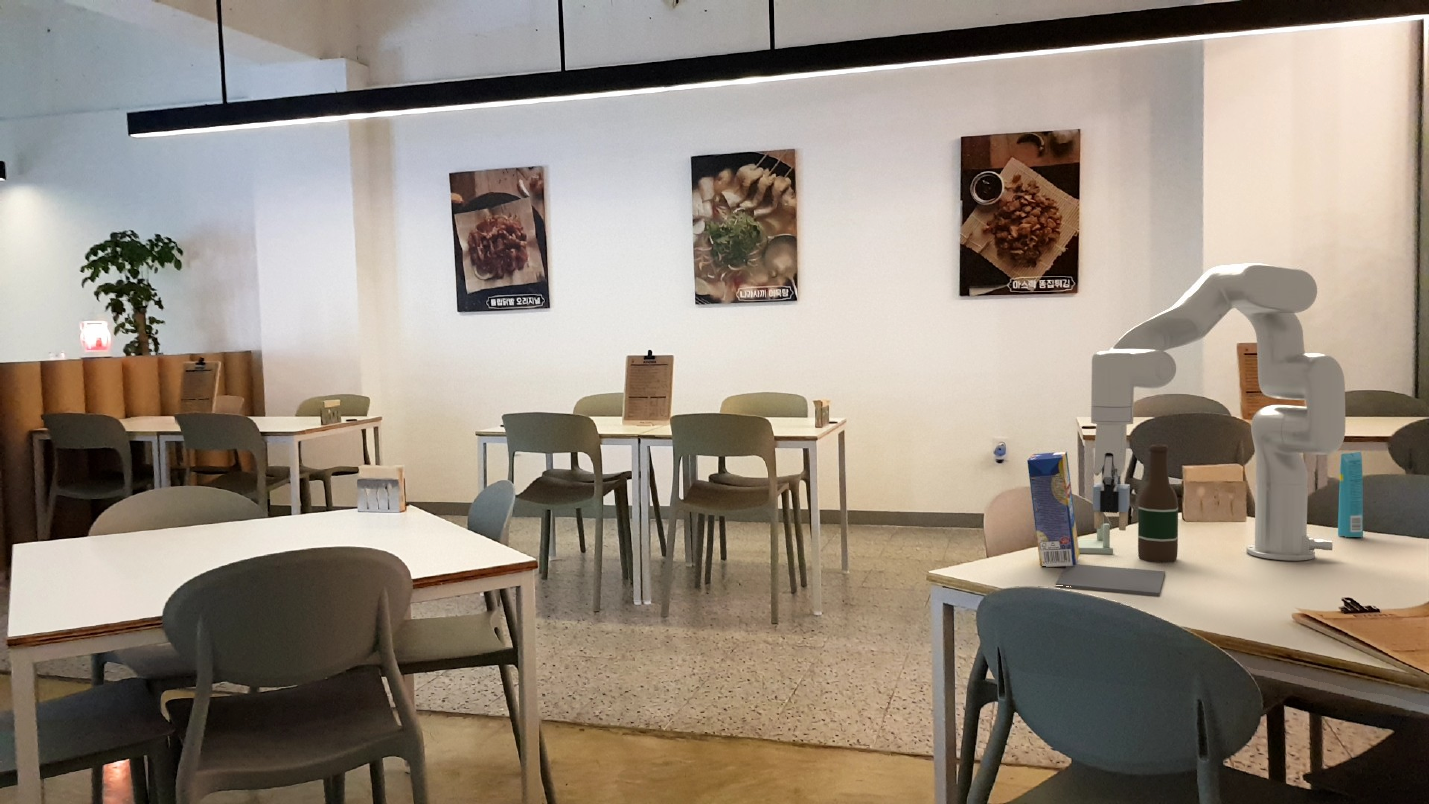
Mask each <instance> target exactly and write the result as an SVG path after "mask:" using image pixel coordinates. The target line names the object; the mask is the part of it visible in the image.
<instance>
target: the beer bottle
mask: <svg viewBox="0 0 1429 804" xmlns="http://www.w3.org/2000/svg"><path fill="white" fill-rule="evenodd" d="M1148 451H1150V454H1149V456H1150V457H1149V471H1148V479H1147V484H1145V486H1144V488H1143V489H1142V490H1141V493H1140V494H1139V497H1138V507H1137V508H1138V510H1137V511H1138V512H1137V513H1138V514H1137V516H1138V518H1137V519H1138V521H1137V525H1138V526H1137V530H1138V531H1137V555H1138V558H1139V559H1141V560H1144V561H1146V562H1152V563H1160V562H1161V563H1162V564H1163V562H1164V563H1174V562H1175V561H1176V560H1177V558H1178V552H1179V551H1178V550H1179V549H1178V548H1179V546H1178V545H1179V541H1178V540H1179V528H1178V527H1179V500H1178V496H1177V493H1176V491H1175V489H1174V488H1173V486H1172V485H1171V484H1170V478H1169V467H1168V466H1169V465H1168V464H1169V463H1168V451H1170V450H1169V446H1168V445H1167V444H1162V443H1161V444H1160V443H1159V444H1157V443H1156V444H1151V445H1150V446H1149V449H1148Z"/></svg>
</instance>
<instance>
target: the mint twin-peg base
mask: <svg viewBox="0 0 1429 804" xmlns="http://www.w3.org/2000/svg"><path fill="white" fill-rule="evenodd" d="M1104 519H1105V517H1103V525H1101V529H1096V538H1078V537H1077V539H1078V547H1079V554H1097V555H1098V554H1101V555H1102V554H1104V555H1105V554H1106V555H1108V554H1109V555H1114V548H1113V546H1111V543H1110V542H1111V536H1110V535H1111V534H1110V533H1111V532H1110V531H1111V524H1110V523H1104V521H1105V520H1104Z"/></svg>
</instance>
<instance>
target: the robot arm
mask: <svg viewBox="0 0 1429 804" xmlns="http://www.w3.org/2000/svg"><path fill="white" fill-rule="evenodd" d="M1317 295H1318V285H1317V283H1316V280H1315V279H1314V277H1313V276H1312V275H1311V274H1310V273H1309V272H1307V271H1305V270H1303V269H1301V268H1300V269H1298V268H1292V267H1291V268H1290V267H1284V266H1279V265H1271V264H1264V263H1241V264H1240V263H1239V264H1229V265H1226V264H1225V265H1219V266H1215V267H1212V268H1209V269H1208V270H1207V271H1206V272H1204V273H1203V274H1202V275H1201V276H1200V277H1199V278H1198V279H1197V280H1196V281H1195V282H1194V283H1193V284H1192V285H1191V286H1190V287H1189V288H1188V289H1187V290H1186V291H1185V292H1184V293H1183V294H1182V295H1181V296H1180V297H1179V298H1178V299H1177V301H1176V302H1175V303H1174V304H1173V305H1172V306H1171V307H1169V308H1167V309H1166V310H1165V311H1162V312H1160V313H1158V314H1156V315H1154V316H1152V317H1151V318H1149V319H1147V320H1146V321H1143V322H1141V323H1139V324H1137V325H1136V326H1134V327H1133V328H1131V329H1130V330H1128V331H1126V333H1124V334H1123V335H1122V336H1121V337H1119V339H1118V340H1117V341H1115V343H1114V344H1113V345H1112V346H1111V347H1110V349H1108V350H1101V351H1100V350H1099V351H1097V352H1095V353H1094V354H1093V355H1092V357H1091V389H1090V390H1091V397H1090V398H1091V401H1090V402H1091V403H1090V404H1091V405H1090V407H1091V409H1090V412H1091V413H1090V423H1091V424H1094V425H1095V424H1096V425H1095V426H1096V427H1095V438H1094V439H1095V440H1094V456H1093V457H1094V459H1093V462H1094V463H1093V475H1094V476H1096V477H1097V476H1099V475H1100V474H1101V482H1100V483H1101V491H1100V511H1101V512H1104V513H1109V514H1110V513H1111V514H1112V513H1113V514H1117V513H1119V512H1118V507H1119V492H1117V484H1122V475H1123V474H1124V471H1125V469H1126V468H1125V467H1126V458H1127V425H1133V424H1134V414H1135V413H1134V408H1135V407H1134V406H1135V405H1134V399H1135V393H1134V391H1135V388H1138V389H1159V388H1163V387H1165V386H1167V385H1168V384H1169V383H1172V381H1173V380H1174V378H1175V376H1176V373H1177V365H1176V361H1175V359H1174V358H1173V356H1172V355H1171V354H1170V353H1167V352H1166V351H1168V350H1172V349H1176V348H1179V347H1183V346H1186V345H1190V344H1192V343H1195V342H1197V341H1200V340H1202V339H1203V338H1205V337H1206V336H1207V335H1208V333H1210V332H1211V331H1212V329H1213V328H1214V327H1215V326H1216V325H1218V324H1219V322H1220V321H1221V320H1222V319H1223V318H1224V317H1225V316H1226V315H1227V314H1228V313H1229V312H1230V311H1231V310H1232V309H1236V310H1238V311H1239V312H1240V313H1241V314H1242V315H1243V316H1245V317H1246V319H1247V320H1248V321H1249V323H1250V324H1251V325H1252V327H1253V329H1254V333H1255V338H1256V352H1257V353H1256V354H1257V355H1256V356H1257V381H1258V387H1259V390H1260V391H1261V394H1263V395H1264V396H1266V397H1269V398H1273V399H1278V400H1295V401H1305V405H1306V406H1301V405H1289V404H1288V405H1287V404H1271V405H1268V406H1264V407H1262V408H1260V409H1259V410H1257V411H1256V413H1255V414H1254V415H1253V417H1252V420H1251V424H1250V429H1251V437H1252V442H1253V446H1254V453H1255V506H1254V507H1255V508H1254V509H1255V510H1254V511H1255V512H1254V516H1255V517H1254V543H1253V544H1248V545H1247V546H1246V551H1245V552H1246V553H1247V554H1249V555H1250V556H1253V557H1257V558H1261V559H1262V558H1263V559H1267V560H1276V561H1277V560H1278V561H1288V562H1289V561H1292V562H1293V561H1295V562H1296V561H1307V560H1308V559H1309V560H1312V559H1314V558H1315V557H1316V552H1315V550H1322V551H1333V540H1325V539H1315V538H1311V537H1310V536H1309V533H1308V532H1307V531H1308V530H1307V529H1308V523H1307V522H1308V490H1309V489H1308V488H1309V487H1308V483H1309V472H1308V469H1307V466H1306V462H1305V460H1304V459H1303V457H1302V455H1301V454H1308V455H1309V454H1310V455H1320V456H1322V455H1323V456H1325V455H1326V456H1327V455H1331V454H1334V453H1335V452H1337V451H1338V450H1339V449H1340V448H1341V447H1342V444H1343V442H1344V439H1345V435H1346V392H1345V391H1346V385H1345V384H1346V383H1345V374H1344V370H1343V368H1342V367H1341V365H1340V363H1339V362H1338V360H1337V359H1335V358H1334V357H1333V356H1330V355H1328V354H1323V353H1306V350H1305V344H1304V331H1303V327H1302V323H1301V321H1300V319H1299V318H1298V316H1297V315H1296V313H1297V314H1298V313H1302V312H1304V311H1306V310H1308V309H1310V308H1311V307H1312V306H1313V304H1314V303H1315V301H1316V299H1317V297H1318V296H1317ZM1300 453H1301V454H1300ZM1309 560H1308V561H1309Z"/></svg>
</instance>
